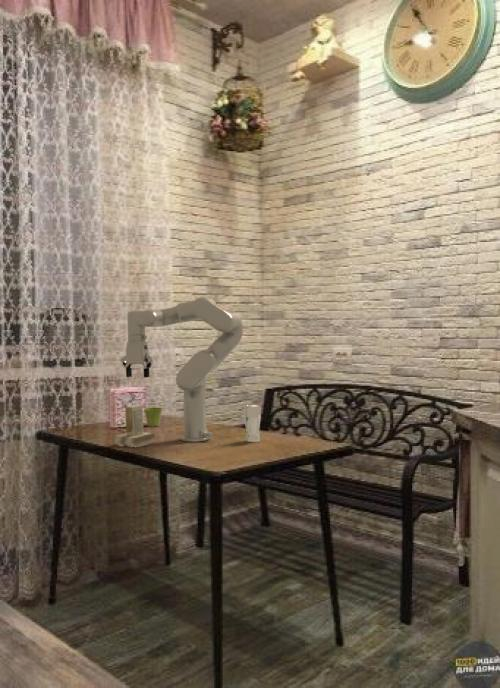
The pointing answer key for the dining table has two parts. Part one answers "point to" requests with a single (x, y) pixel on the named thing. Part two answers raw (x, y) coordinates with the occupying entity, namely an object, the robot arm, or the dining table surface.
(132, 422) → the skincare box
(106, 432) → the dining table surface
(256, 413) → the beer glass
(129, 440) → the birch base block
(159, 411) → the plant pot
